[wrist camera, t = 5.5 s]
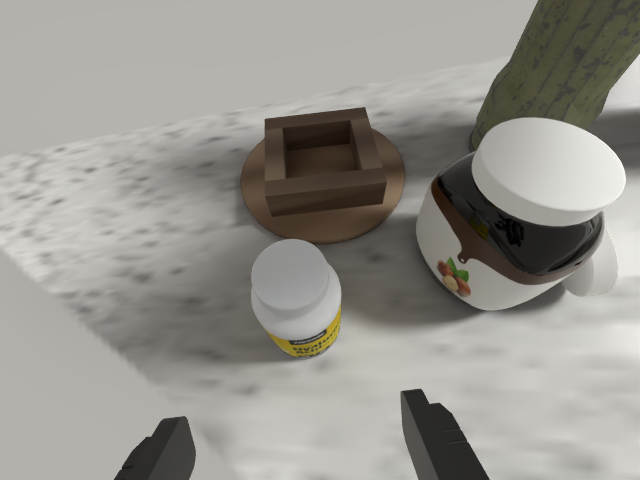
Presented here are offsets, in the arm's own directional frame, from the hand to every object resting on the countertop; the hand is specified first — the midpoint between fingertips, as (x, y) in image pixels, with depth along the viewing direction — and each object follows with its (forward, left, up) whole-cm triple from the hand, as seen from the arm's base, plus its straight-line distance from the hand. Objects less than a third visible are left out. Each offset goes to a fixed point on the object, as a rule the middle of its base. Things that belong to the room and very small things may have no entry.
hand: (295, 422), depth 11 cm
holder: (+14, -18, -10) cm, 25 cm away
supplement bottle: (+5, -5, -11) cm, 13 cm away
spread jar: (-4, -19, -11) cm, 22 cm away
